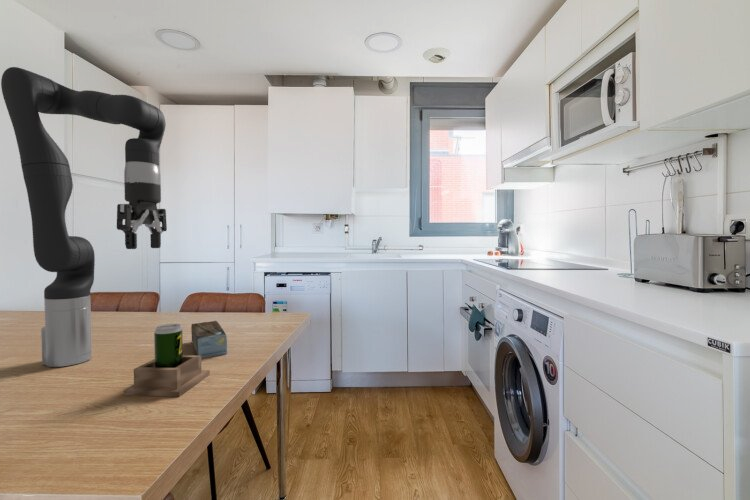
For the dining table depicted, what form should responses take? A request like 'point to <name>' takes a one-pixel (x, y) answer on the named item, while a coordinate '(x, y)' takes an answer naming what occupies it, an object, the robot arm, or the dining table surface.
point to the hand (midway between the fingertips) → (144, 248)
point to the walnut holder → (167, 378)
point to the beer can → (168, 346)
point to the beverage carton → (209, 339)
